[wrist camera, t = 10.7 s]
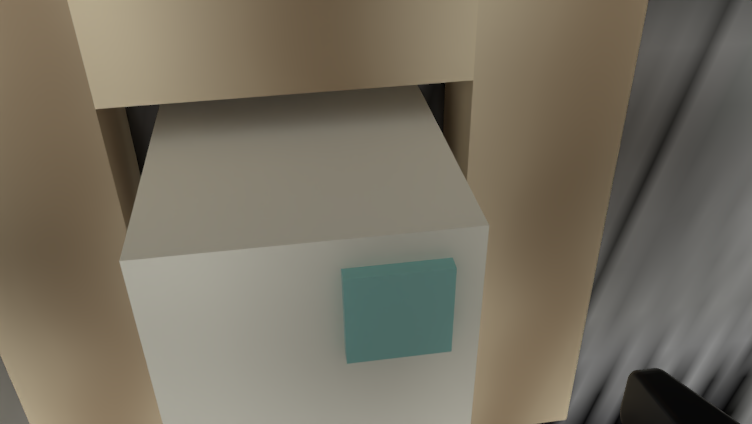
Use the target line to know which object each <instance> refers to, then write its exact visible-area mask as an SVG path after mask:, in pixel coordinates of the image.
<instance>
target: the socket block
mask: <svg viewBox="0 0 752 424" xmlns="http://www.w3.org/2000/svg"><path fill="white" fill-rule="evenodd" d="M648 1H649V0H0V355H1V358H2V360H3V362H4V365H5V367H6V369H7V372H8V374H9V376H10V379H11V381H12V383H13V386H14V388H15V390H16V393H17V395H18V397H19V400H20V402H21V404H22V407H23V409H24V411H25V414H26V416H27V418H28V421H29V423H30V424H163V423H162V419H161V415H160V412H159V408H158V404H157V400H156V397H155V393H154V389H153V385H152V382H151V378H150V374H149V371H148V367H147V363H146V359H145V356H144V352H143V348H142V344H141V341H140V337H139V333H138V329H137V326H136V322H135V318H134V314H133V311H132V307H131V303H130V299H129V296H128V292H127V288H126V284H125V281H124V277H123V273H122V270H121V266H120V262H119V260H120V256H121V253H122V249H123V245H124V241H125V237H126V233H127V229H128V225H129V221H130V218H131V214H132V210H133V206H134V202H135V198H136V194H137V190H138V187H139V183H140V179H141V175H140V171H139V166H138V162H137V158H136V153H135V149H134V145H133V141H132V136H131V132H130V128H129V123H128V119H127V115H126V111H125V107H130V106H143V105H156V104H169V103H182V102H196V101H209V100H222V99H235V98H248V97H261V96H275V95H288V94H301V93H314V92H327V91H340V90H354V89H367V88H380V87H393V86H406V85H419V84H432V83H445V99H444V124H443V136H444V138H445V140H446V141H447V143H448V145H449V147H450V149H451V151H452V153H453V155H454V157H455V159H456V161H457V163H458V165H459V167H460V169H461V171H462V173H463V175H464V177H465V179H466V181H467V183H468V185H469V187H470V188H471V190H472V192H473V194H474V196H475V198H476V200H477V202H478V204H479V206H480V208H481V210H482V212H483V214H484V216H485V218H486V220H487V222H488V224H489V234H488V244H487V255H486V266H485V276H484V287H483V298H482V308H481V319H480V330H479V341H478V351H477V362H476V373H475V383H474V394H473V405H472V415H471V424H537V423H545V422H552V421H559V420H566V418H567V413H568V408H569V403H570V398H571V393H572V388H573V383H574V378H575V373H576V367H577V362H578V357H579V352H580V347H581V342H582V337H583V332H584V327H585V322H586V317H587V311H588V306H589V301H590V296H591V291H592V286H593V281H594V276H595V271H596V266H597V260H598V255H599V250H600V245H601V240H602V235H603V230H604V225H605V220H606V215H607V210H608V204H609V199H610V194H611V189H612V184H613V179H614V174H615V169H616V164H617V159H618V153H619V148H620V143H621V138H622V133H623V128H624V123H625V118H626V113H627V108H628V103H629V97H630V92H631V87H632V82H633V77H634V72H635V67H636V62H637V57H638V52H639V46H640V41H641V36H642V31H643V26H644V21H645V16H646V11H647V6H648Z"/></svg>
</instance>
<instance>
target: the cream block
mask: <svg viewBox="0 0 752 424" xmlns="http://www.w3.org/2000/svg"><path fill="white" fill-rule="evenodd" d="M488 234H489V224H488V222H487V220H486V218H485V216H484V214H483V212H482V210H481V208H480V206H479V204H478V202H477V200H476V198H475V196H474V194H473V192H472V190H471V188H470V187H469V185H468V183H467V181H466V179H465V177H464V175H463V173H462V171H461V169H460V167H459V165H458V163H457V161H456V159H455V157H454V155H453V153H452V151H451V149H450V147H449V145H448V143H447V141H446V140H445V138H444V136H443V134H442V132H441V130H440V128H439V126H438V124H437V122H436V120H435V118H434V116H433V114H432V112H431V110H430V108H429V106H428V104H427V102H426V100H425V98H424V96H423V95H422V93H421V91H420V89H419V87H418V85H406V86H393V87H380V88H367V89H354V90H340V91H327V92H314V93H301V94H288V95H275V96H261V97H248V98H235V99H222V100H209V101H196V102H182V103H169V104H160V105H159V109H158V113H157V117H156V121H155V124H154V128H153V132H152V136H151V140H150V144H149V148H148V152H147V156H146V159H145V163H144V167H143V171H142V175H141V179H140V183H139V187H138V190H137V194H136V198H135V202H134V206H133V210H132V214H131V218H130V221H129V225H128V229H127V233H126V237H125V241H124V245H123V249H122V253H121V256H120V260H119V262H120V266H121V270H122V273H123V277H124V281H125V284H126V288H127V292H128V296H129V299H130V303H131V307H132V311H133V314H134V318H135V322H136V326H137V329H138V333H139V337H140V341H141V344H142V348H143V352H144V356H145V359H146V363H147V367H148V371H149V374H150V378H151V382H152V385H153V389H154V393H155V397H156V400H157V404H158V408H159V412H160V415H161V419H162V423H163V424H471V415H472V405H473V394H474V383H475V373H476V362H477V351H478V341H479V330H480V319H481V308H482V298H483V287H484V276H485V266H486V255H487V244H488Z"/></svg>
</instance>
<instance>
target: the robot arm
mask: <svg viewBox="0 0 752 424" xmlns="http://www.w3.org/2000/svg"><path fill="white" fill-rule="evenodd" d="M620 416H621V422H622V424H740V423H738V422H737V421H735V420H734V419H733V418H731V417H730V416H728V415H727V414H725V413H724V412H723V411H721V410H720V409H718V408H717V407H715V406H714V405H712V404H711V403H710V402H708V401H707V400H705V399H704V398H702V397H701V396H699V395H698V394H697V393H695V392H694V391H692V390H691V389H689V388H688V387H687V386H685V385H684V384H682V383H681V382H679V381H678V380H676V379H675V378H674V377H672V376H671V375H669V374H668V373H666V372H665V371H663V370H661V369H658V368H651V369H643V370H636V371H633V372H632V373H631V374H630V375H629V377H628V381H627V384H626V388H625V392H624V396H623V400H622V404H621V409H620Z"/></svg>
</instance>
